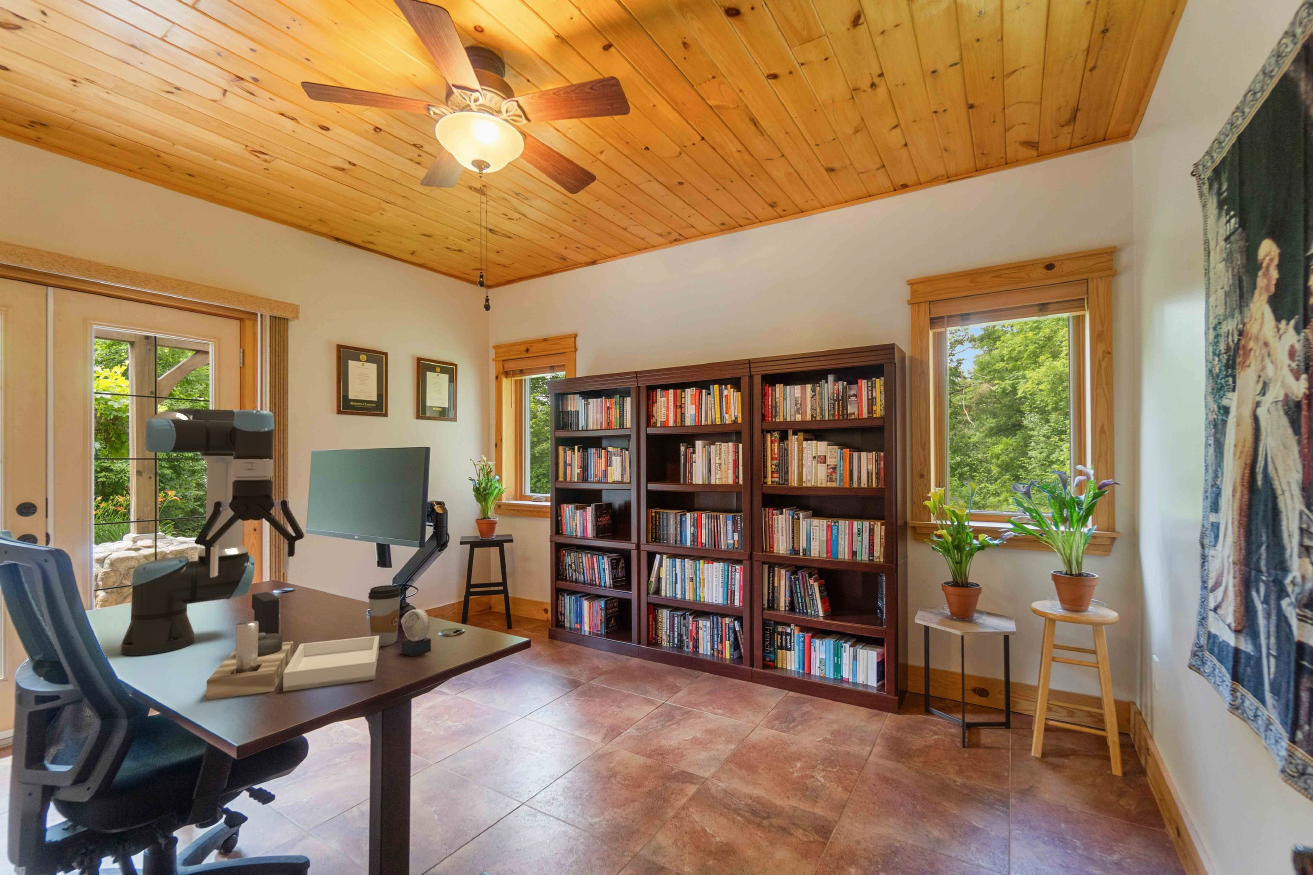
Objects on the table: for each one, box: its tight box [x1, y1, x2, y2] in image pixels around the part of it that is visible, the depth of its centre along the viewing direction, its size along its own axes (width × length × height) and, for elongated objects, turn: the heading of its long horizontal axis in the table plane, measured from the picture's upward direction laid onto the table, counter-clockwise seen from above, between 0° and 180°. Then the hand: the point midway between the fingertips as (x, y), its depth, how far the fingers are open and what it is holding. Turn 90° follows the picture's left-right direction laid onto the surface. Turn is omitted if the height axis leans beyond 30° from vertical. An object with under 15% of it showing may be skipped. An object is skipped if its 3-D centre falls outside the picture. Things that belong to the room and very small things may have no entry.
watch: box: [400, 608, 432, 658], centre depth 155 cm, size 6×8×11 cm
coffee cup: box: [367, 584, 402, 647], centre depth 163 cm, size 8×8×15 cm
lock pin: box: [235, 620, 259, 674], centre depth 132 cm, size 4×4×14 cm
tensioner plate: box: [205, 633, 294, 701], centre depth 138 cm, size 24×12×8 cm, turn 23°
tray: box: [282, 635, 380, 692], centre depth 143 cm, size 22×18×4 cm
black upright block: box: [251, 591, 282, 634], centre depth 154 cm, size 11×4×15 cm, turn 47°
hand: (250, 573), depth 133 cm, fingers open, 13 cm apart
